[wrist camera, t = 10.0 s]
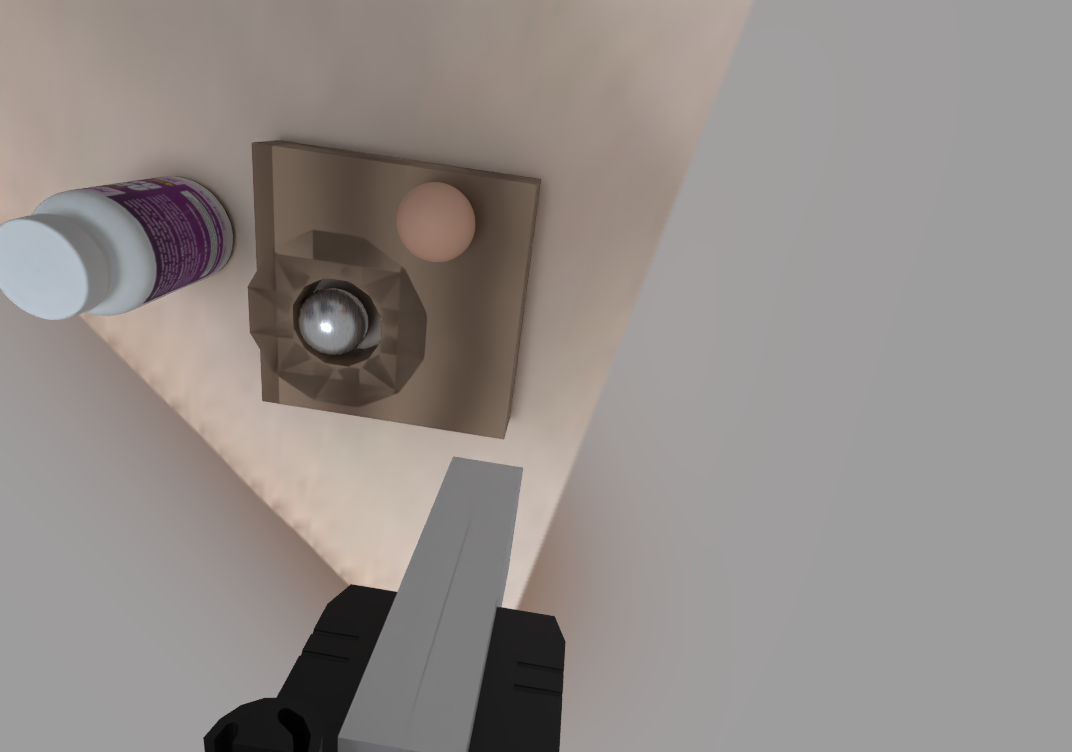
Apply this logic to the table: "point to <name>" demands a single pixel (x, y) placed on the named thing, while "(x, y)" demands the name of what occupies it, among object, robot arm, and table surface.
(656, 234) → the table surface
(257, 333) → the brown flat square slab
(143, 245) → the pill bottle
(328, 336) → the ball
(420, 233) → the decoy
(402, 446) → the table surface
